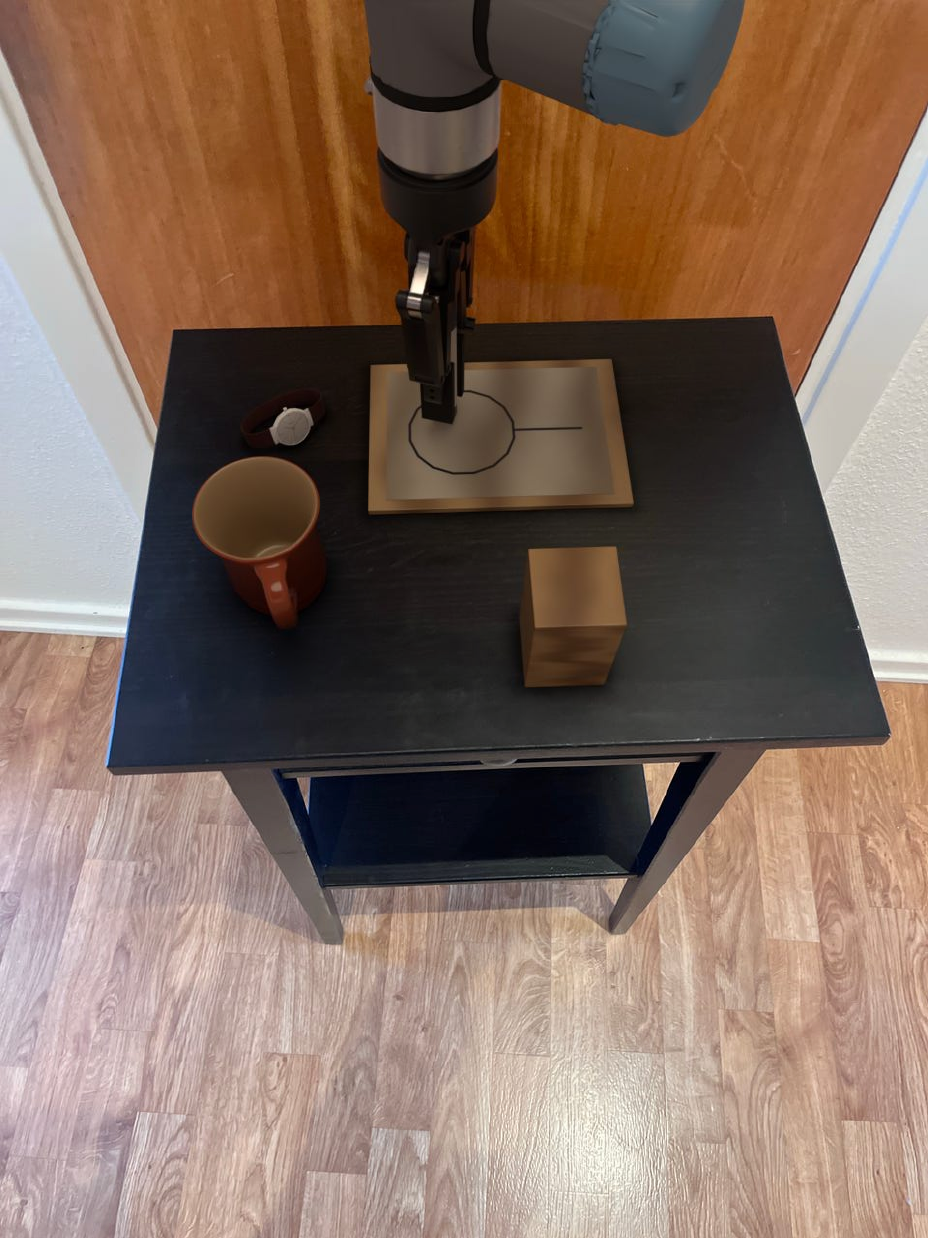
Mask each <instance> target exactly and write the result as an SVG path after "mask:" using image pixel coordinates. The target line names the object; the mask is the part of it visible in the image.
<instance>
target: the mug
mask: <svg viewBox="0 0 928 1238" xmlns="http://www.w3.org/2000/svg"><path fill="white" fill-rule="evenodd" d="M320 506H321V501H320V493H319V490H318V488H317V486H316V483H315V482H314V480H313V478H312V477H311V476H310V475H309V473H307V472H306V471H305V470H304V469H303V468H302V467H300V466H299V465H297V464H296V463H293V462H292V461H289V460H286V459H283V458H279V457H274V456H265V455H264V456H250V457H245V458H241V459H237V460H235V461H232V462H230V463H228V464H226V465H223V466H222V467H221V468H219V469H217V471H215V472H214V473H212V474H211V475H210V476H209V477H208V478H207V479H206V480H205V481H204V482H203V484H202V485H201V487H200V488H199V490H198V491H197V494H196V495H195V498H194V501H193V505H192V510H191V511H192V514H191V516H192V525H193V528H194V530H195V533H196V535H197V537H198V538H199V540H200V542H201V543H202V544H203V545H204V546H205V547H206V548H207V549H208V550H210V551H211V552H212V553H213V554H214V555H216V556H218V557H219V558H220V559H221V562H222V564H223V567H224V570H225V572H226V574H227V577H228V579H229V582H230V585H231V586H232V588H233V590H234V592H236V594H237V595H238V596H239V597H240V598H241V599H242V600H243V601H244V602H245V603H246V604H247V605H248V606H249V607H250V608H252V610H255V611H257V612H259V613H261V614H263V615H268V616H271V618H272V620H273V622H274V624H275V625H276V627H277V628H279V630H280V629H281V630H287V629H291V628H295V627H296V626H297V625H298V623H299V613H298V612H301V611H302V610H304V609H306V608H308V607H309V606H311V604H312V603H313V602H314V601H315V600H316V599H317V597H318V596H319V595H320V593H321V592H322V590H323V588H324V585H325V581H326V575H327V555H326V551H325V548H324V546H323V543H322V540H321V537H320V533H319V531H318V528H317V523H318V519H319V516H320V511H321V510H320V509H321V508H320Z"/></svg>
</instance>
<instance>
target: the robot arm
mask: <svg viewBox="0 0 928 1238" xmlns="http://www.w3.org/2000/svg"><path fill="white" fill-rule="evenodd" d="M745 2H746V0H363V5H364V14H365V20H366V29H367V38H368V45H369V53H370V54H369V56H368V62H369V71H370V72H369V73H370V76H368V77H367V78H366V80H365V83H364V91H365V93H366V94H367V95H368V96H371V97H372V102H373V103H372V104H373V116H374V127H375V137H376V143H377V146H378V147H377V149H376V160H377V161H376V162H377V170H378V171H377V172H378V181H379V182H378V183H379V192H380V200H381V204H382V206H383V208H384V210H385V212H386V214H387V215H388V216H389V217H390V218H391V220H393V221H394V222H395V223H396V224H398V225H399V226H400V227H401V228H402V230H404V231H405V235H404V240H403V241H404V242H403V255H404V259H405V260H406V262H407V283H408V284H407V285H408V286H407V287H408V288H405V289H398V291H397V292H396V294H395V297H394V303H395V309H396V311H397V313H398V315H399V317H400V321H401V330H402V336H403V343H404V352H405V358H406V364H407V368H408V374H409V380H410V381H413V382H417V383H420V394H421V412H422V418H424V419H428V420H433V421H438V422H442V423H447V424H452V425H453V422H454V419H455V363H454V362H450V359H451V325H452V302H453V301H454V300H455V298H456V296H457V396H458V397H462V396H463V393H464V363H466V362H465V361H466V360H465V358H466V357H465V354H466V353H465V352H466V351H465V348H466V347H465V346H466V335H465V334H464V333H461V331H465V332H468V333H473V332H474V330H475V327H476V322H477V320H476V317H470V316H468V315H467V314H468V312H467V309H470V308H471V306H472V305H473V302H474V297H473V288H474V271H475V269H474V268H475V251H476V249H475V248H476V231H477V226H478V225H479V224H481V223H482V222H483V221H484V220H485V219H486V218H487V217H488V216H489V215H490V213H491V212H492V210H493V208H494V206H495V203H496V201H497V189H498V188H497V187H498V169H499V168H498V167H499V148H498V146H499V143H500V139H501V115H502V89H503V88H502V83H503V81H507V82H510V83H512V84H515V85H517V86H519V87H521V88H524V89H526V90H529V91H532V92H533V93H537V94H539V95H541V96H543V97H546V98H548V99H550V100H554V101H556V102H559V103H561V104H564V105H566V106H568V107H570V108H573V109H575V110H578V111H580V112H583V113H585V114H587V115H591V116H592V117H594V118H595V119H596V120H599V121H600V122H601V123H604V124H606V125H612V126H615V127H616V126H617V125H621V126H623V127H624V126H625V127H627V128H632V129H634V130H638V131H642V132H645V133H649V134H652V135H656V136H659V137H662V138H669V137H670V138H671V137H676V136H679V135H680V134H682V133H685V132H686V131H688V130H689V129H690V128H691V127H692V126H694V124H695V123H696V122H697V121H698V120H699V118H700V117H701V116H702V115H703V114H704V112H705V110H706V108H707V106H708V104H709V101H710V99H711V97H712V94H713V92H714V90H716V89H717V88H718V86H719V84H720V82H721V80H722V78H723V75H724V73H725V70H726V68H727V65H728V63H729V60H730V57H731V55H732V52H733V50H734V46H735V43H736V41H737V38H738V34H739V30H740V26H741V23H742V19H743V15H744V8H745V4H746V3H745Z"/></svg>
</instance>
